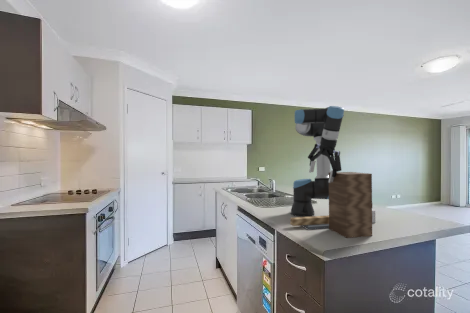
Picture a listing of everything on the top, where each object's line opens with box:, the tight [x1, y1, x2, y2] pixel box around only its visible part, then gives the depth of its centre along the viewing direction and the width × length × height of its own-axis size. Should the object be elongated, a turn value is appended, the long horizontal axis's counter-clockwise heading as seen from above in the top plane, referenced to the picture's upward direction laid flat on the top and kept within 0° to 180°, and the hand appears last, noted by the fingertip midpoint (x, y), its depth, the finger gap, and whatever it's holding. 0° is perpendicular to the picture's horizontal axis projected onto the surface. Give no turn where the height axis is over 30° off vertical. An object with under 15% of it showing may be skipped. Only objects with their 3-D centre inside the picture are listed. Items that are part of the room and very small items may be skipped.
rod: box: [290, 214, 329, 227], centre depth 129 cm, size 26×4×4 cm, turn 101°
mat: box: [302, 224, 329, 230], centre depth 129 cm, size 14×10×2 cm
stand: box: [328, 171, 373, 239], centre depth 118 cm, size 14×14×30 cm
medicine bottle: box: [372, 208, 376, 224], centre depth 138 cm, size 7×7×12 cm
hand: (320, 176), depth 124 cm, fingers open, 12 cm apart
